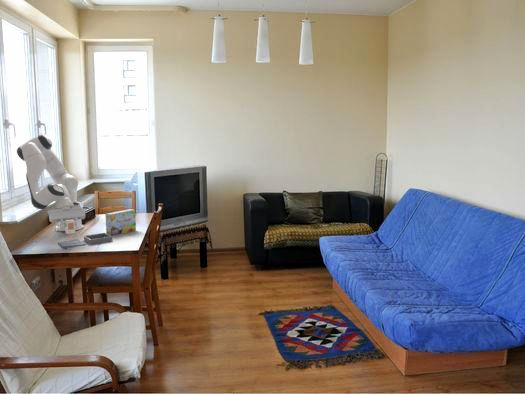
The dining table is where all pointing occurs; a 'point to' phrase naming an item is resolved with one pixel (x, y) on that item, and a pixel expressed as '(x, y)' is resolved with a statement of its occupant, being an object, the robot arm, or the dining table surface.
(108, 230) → the snack box
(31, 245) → the dining table surface
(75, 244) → the blue-grey board
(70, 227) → the cream carton
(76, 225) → the robot arm
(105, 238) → the parts bin
